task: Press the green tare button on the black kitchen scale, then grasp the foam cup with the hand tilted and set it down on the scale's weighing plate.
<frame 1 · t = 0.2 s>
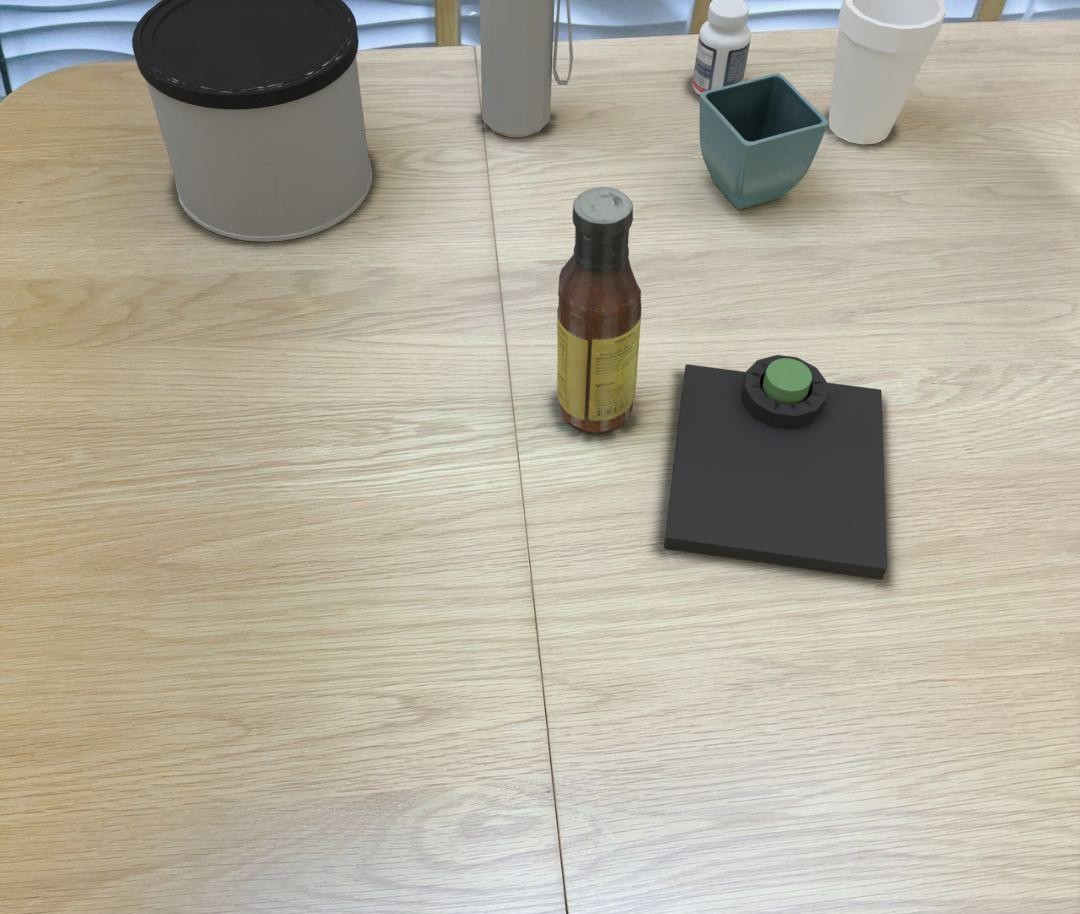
foam cup: (858, 127, 113), on the table
pill bottle: (716, 90, 116), on the table
scale: (776, 470, 85), on the table
water bottle: (524, 123, 112), on the table
container: (275, 181, 105), on the table
flower pot: (746, 192, 106), on the table
sauce bottle: (592, 409, 89), on the table
tare button: (787, 381, 86), point 3 cm above the table, slide at 0.1 cm
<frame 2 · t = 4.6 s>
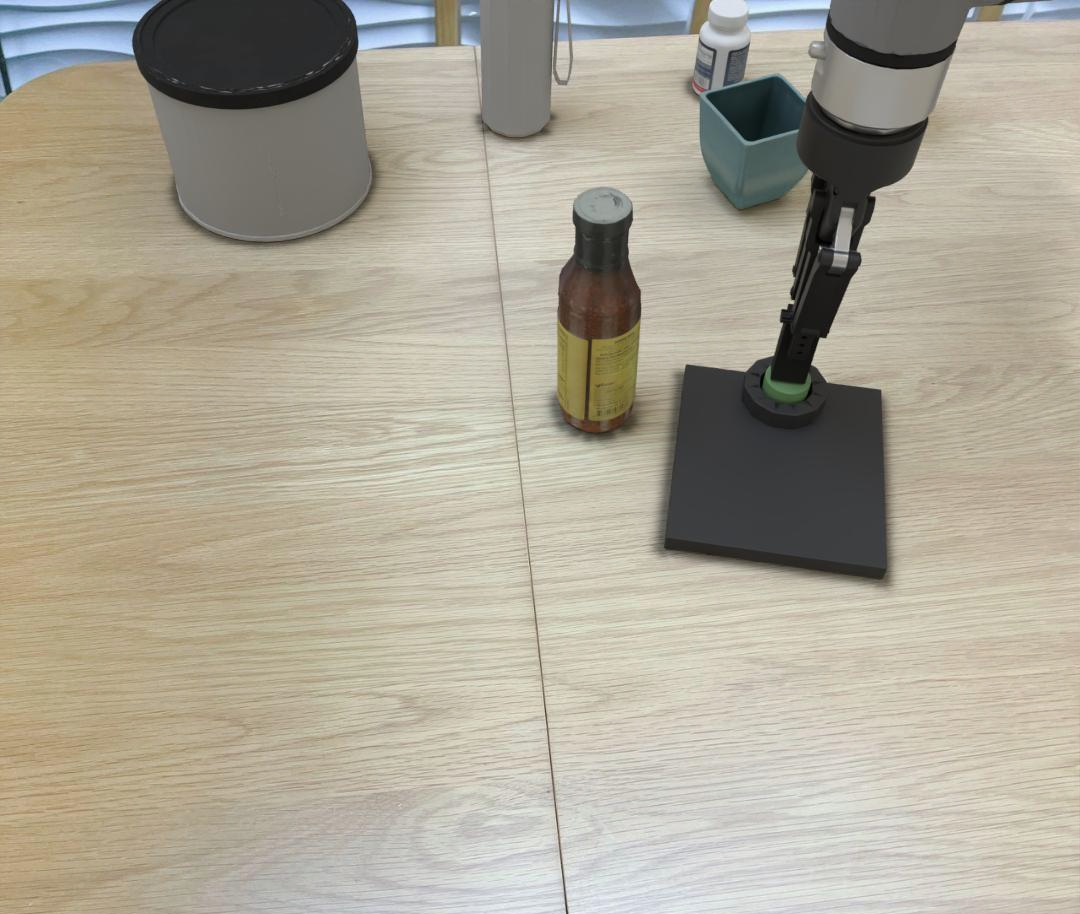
hand: (787, 374, 86), 4 cm above the table, tool pointing down, fingers closed
tare button: (786, 383, 87), point 3 cm above the table, slide at -0.2 cm, touching gripper
everything else where it was.
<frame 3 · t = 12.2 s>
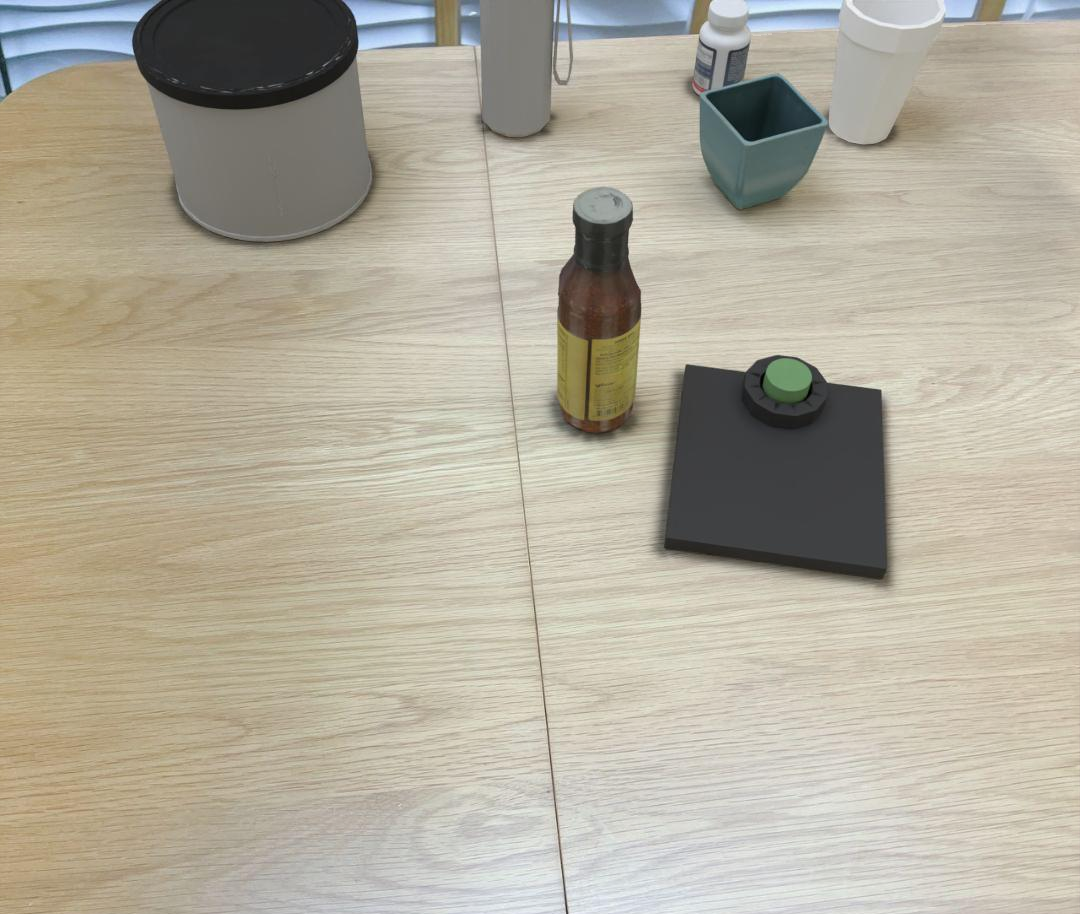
tare button: (787, 381, 86), point 3 cm above the table, slide at 0.1 cm
everything else where it was.
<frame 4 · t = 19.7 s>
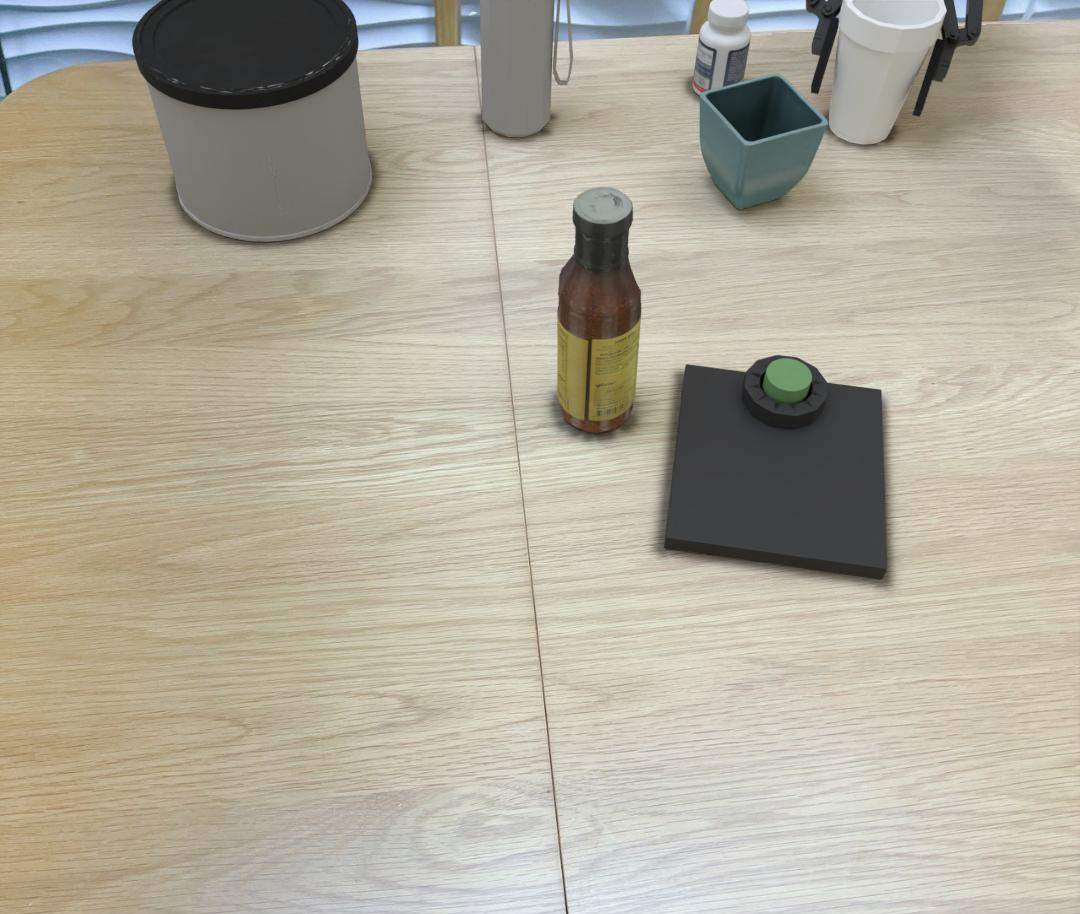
hand: (865, 101, 107), 5 cm above the table, tool tilted 45°, fingers closed on foam cup, 9 cm apart
foam cup: (858, 127, 113), on the table, touching gripper
everything else where it was.
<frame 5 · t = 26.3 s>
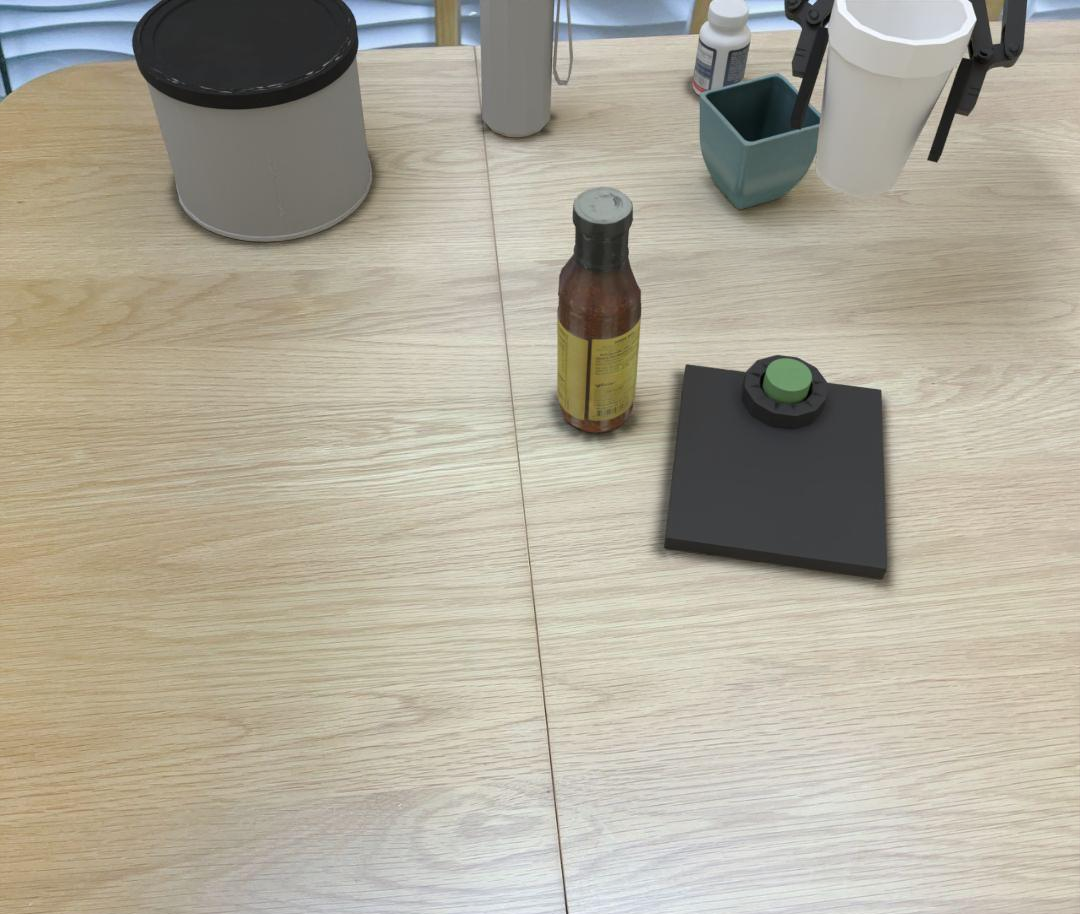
hand: (864, 140, 79), 19 cm above the table, tool tilted 45°, fingers closed on foam cup, 9 cm apart
foam cup: (855, 173, 85), point 14 cm above the table, touching gripper
everything else where it was.
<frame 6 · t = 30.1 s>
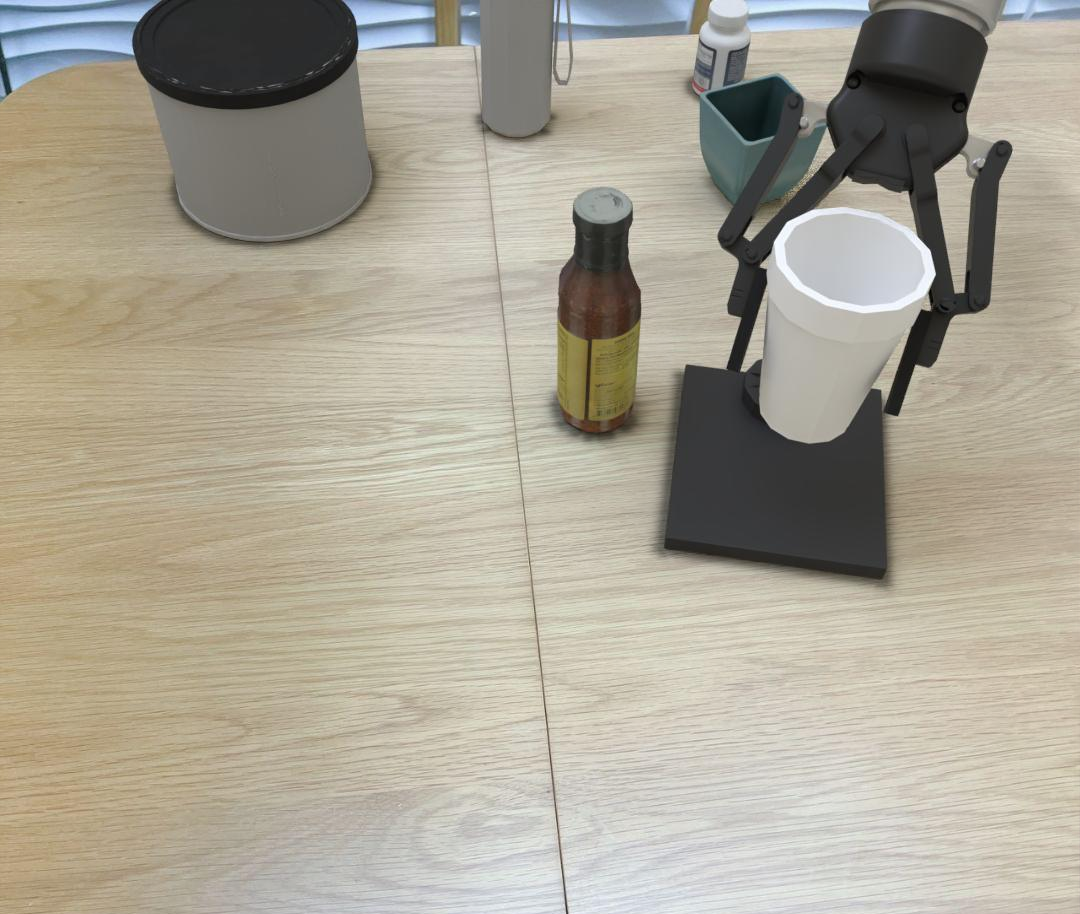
hand: (810, 392, 69), 15 cm above the table, tool tilted 45°, fingers closed on foam cup, 9 cm apart
foam cup: (804, 410, 75), point 10 cm above the table, touching gripper
everything else where it was.
when the fingers open (6 cm above the table, at t = 33.3 s): foam cup stays where it is, resting on scale.
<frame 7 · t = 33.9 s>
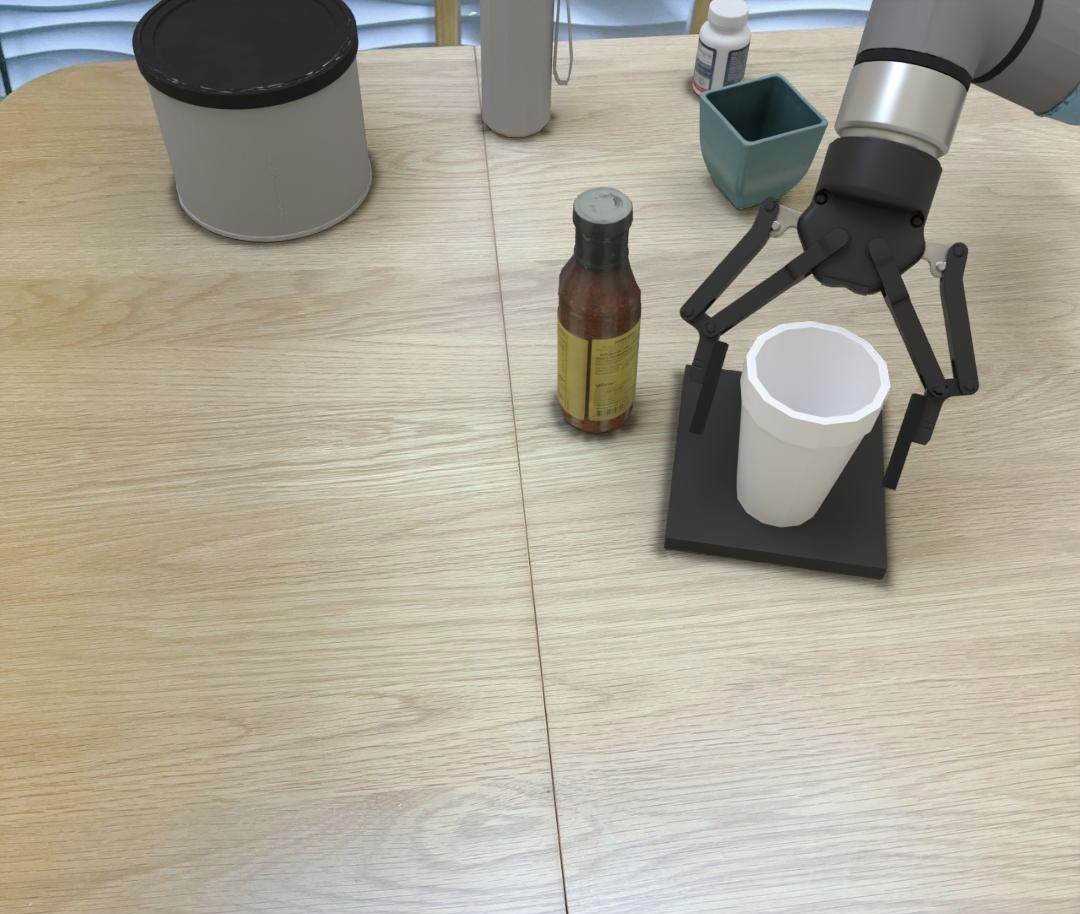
hand: (790, 460, 76), 8 cm above the table, tool tilted 45°, fingers open, 13 cm apart
foam cup: (777, 495, 82), point 1 cm above the table, touching scale
everything else where it was.
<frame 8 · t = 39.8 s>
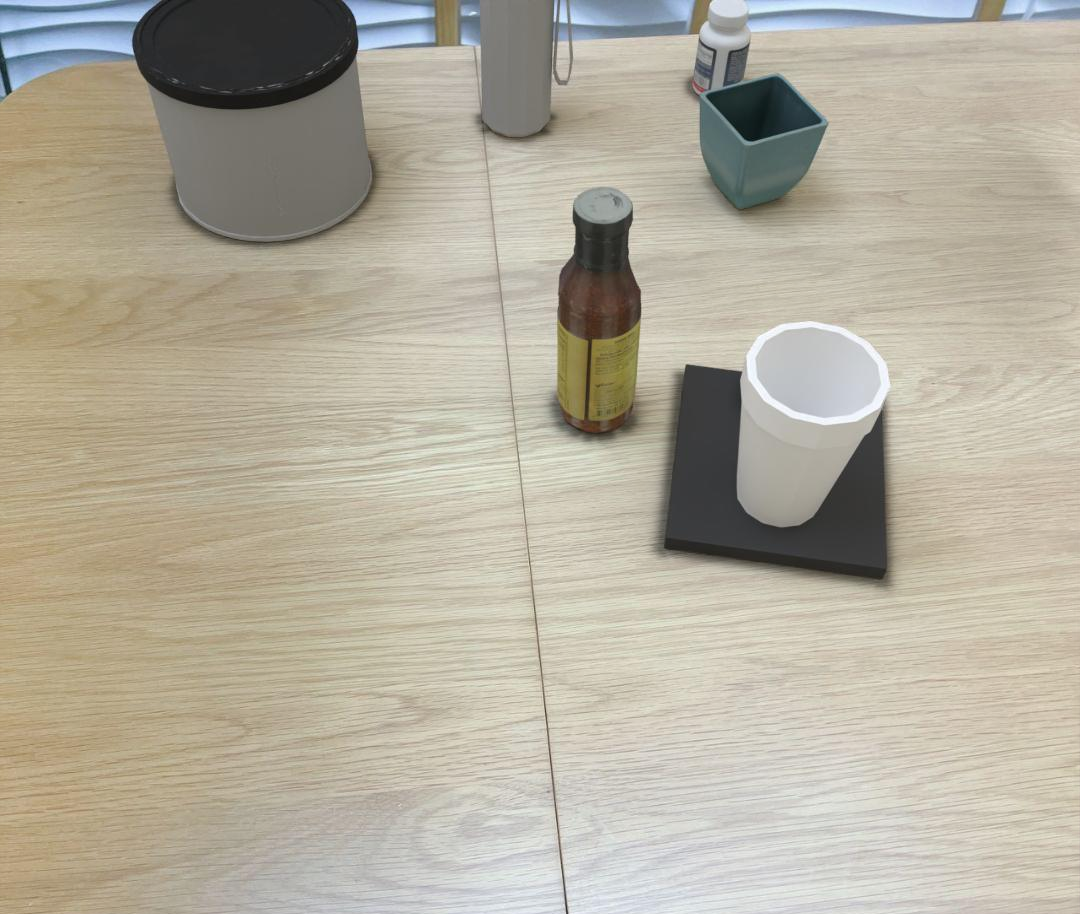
nothing on the table moved.
at the end: tare button pushed in 0.8 cm at the most during the clip, back to where it started at the end; foam cup inside the target area on the scale (0.4 cm from its centre), point 1.2 cm above the scale's base; foam cup touching scale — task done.
